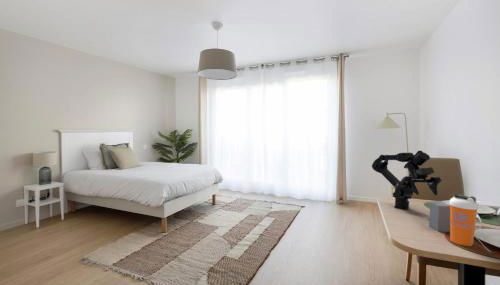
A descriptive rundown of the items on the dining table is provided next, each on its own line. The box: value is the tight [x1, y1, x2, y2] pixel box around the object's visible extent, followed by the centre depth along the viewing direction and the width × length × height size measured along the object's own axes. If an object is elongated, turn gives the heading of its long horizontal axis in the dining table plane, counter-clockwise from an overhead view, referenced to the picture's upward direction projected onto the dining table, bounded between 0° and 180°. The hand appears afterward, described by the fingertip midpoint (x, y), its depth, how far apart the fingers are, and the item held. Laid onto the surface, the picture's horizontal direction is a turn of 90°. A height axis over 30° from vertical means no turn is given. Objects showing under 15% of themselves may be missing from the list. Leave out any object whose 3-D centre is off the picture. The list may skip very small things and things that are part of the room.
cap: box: [428, 201, 450, 233], centre depth 111 cm, size 6×6×12 cm
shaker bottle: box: [448, 193, 479, 247], centre depth 98 cm, size 9×9×20 cm
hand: (427, 194), depth 122 cm, fingers open, 9 cm apart
